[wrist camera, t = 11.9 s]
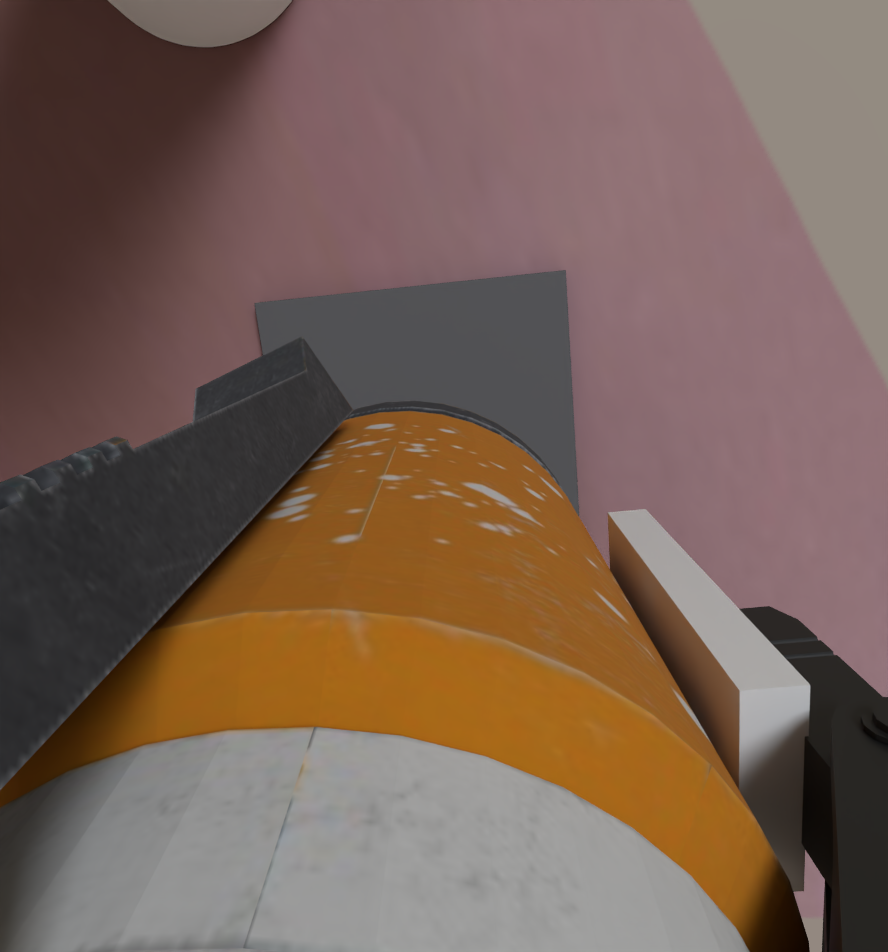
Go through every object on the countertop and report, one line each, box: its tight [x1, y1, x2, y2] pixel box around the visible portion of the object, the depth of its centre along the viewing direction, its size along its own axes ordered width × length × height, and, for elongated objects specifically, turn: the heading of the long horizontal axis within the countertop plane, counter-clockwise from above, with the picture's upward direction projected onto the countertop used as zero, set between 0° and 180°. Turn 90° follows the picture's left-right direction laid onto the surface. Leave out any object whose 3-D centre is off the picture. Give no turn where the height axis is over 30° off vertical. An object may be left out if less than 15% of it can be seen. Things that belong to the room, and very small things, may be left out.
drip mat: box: [255, 270, 579, 516], centre depth 30 cm, size 13×13×1 cm
